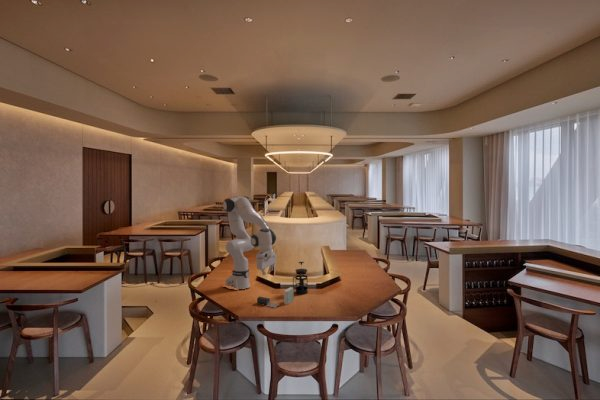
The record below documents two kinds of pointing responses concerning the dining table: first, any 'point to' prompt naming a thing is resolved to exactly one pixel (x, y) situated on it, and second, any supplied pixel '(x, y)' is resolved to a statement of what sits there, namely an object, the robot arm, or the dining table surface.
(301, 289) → the french press
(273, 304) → the turner
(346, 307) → the dining table surface
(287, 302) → the tile
